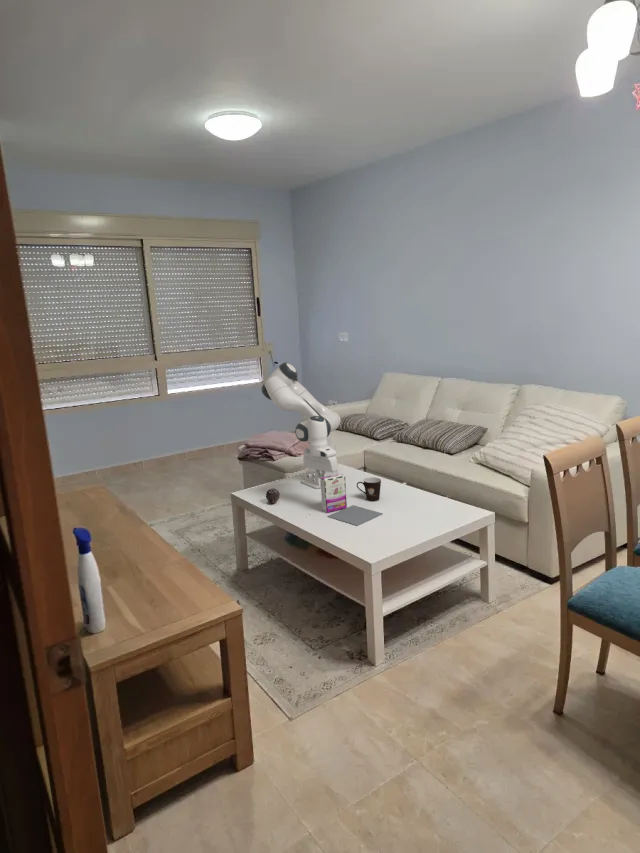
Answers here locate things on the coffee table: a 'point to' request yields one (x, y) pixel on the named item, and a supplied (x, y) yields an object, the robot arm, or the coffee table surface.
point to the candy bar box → (333, 493)
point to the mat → (355, 515)
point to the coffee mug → (371, 488)
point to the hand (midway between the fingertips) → (320, 478)
